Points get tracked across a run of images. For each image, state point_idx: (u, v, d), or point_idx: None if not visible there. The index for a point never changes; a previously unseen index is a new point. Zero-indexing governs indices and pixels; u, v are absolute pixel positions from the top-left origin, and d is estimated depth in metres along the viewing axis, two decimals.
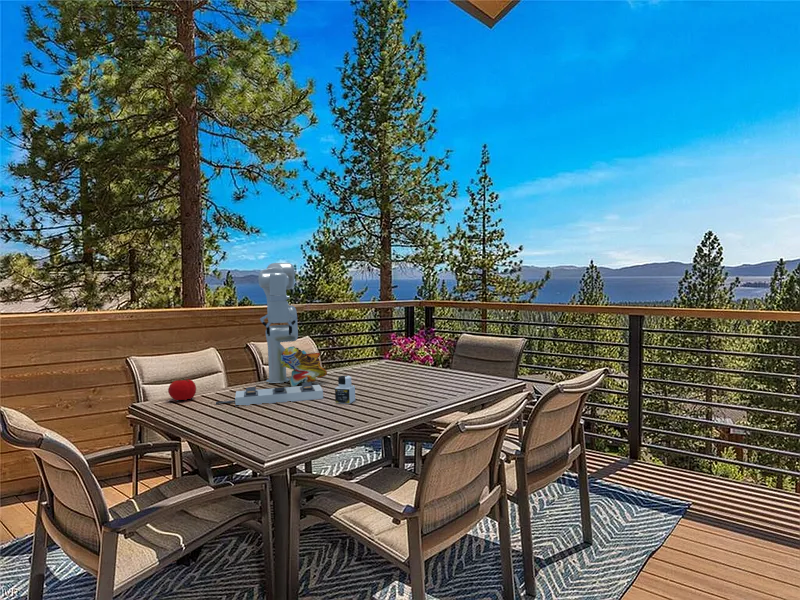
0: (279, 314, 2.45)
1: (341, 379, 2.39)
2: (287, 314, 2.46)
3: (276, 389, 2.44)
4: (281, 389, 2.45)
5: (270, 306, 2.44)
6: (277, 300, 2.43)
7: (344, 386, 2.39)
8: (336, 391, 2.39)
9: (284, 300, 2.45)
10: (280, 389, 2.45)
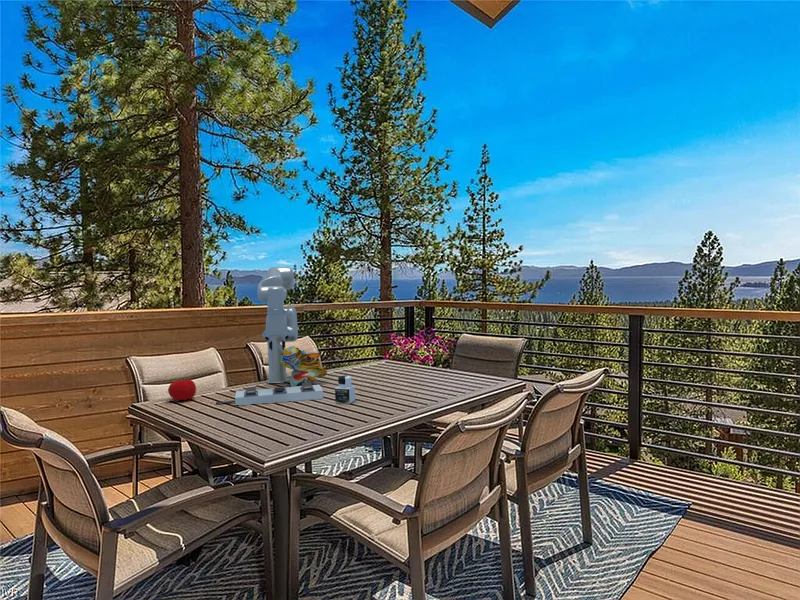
0: (277, 327, 2.51)
1: (341, 379, 2.39)
2: (285, 327, 2.53)
3: (276, 389, 2.44)
4: (281, 389, 2.45)
5: (268, 319, 2.50)
6: (275, 313, 2.50)
7: (344, 386, 2.39)
8: (336, 391, 2.39)
9: (282, 313, 2.52)
10: (280, 389, 2.45)
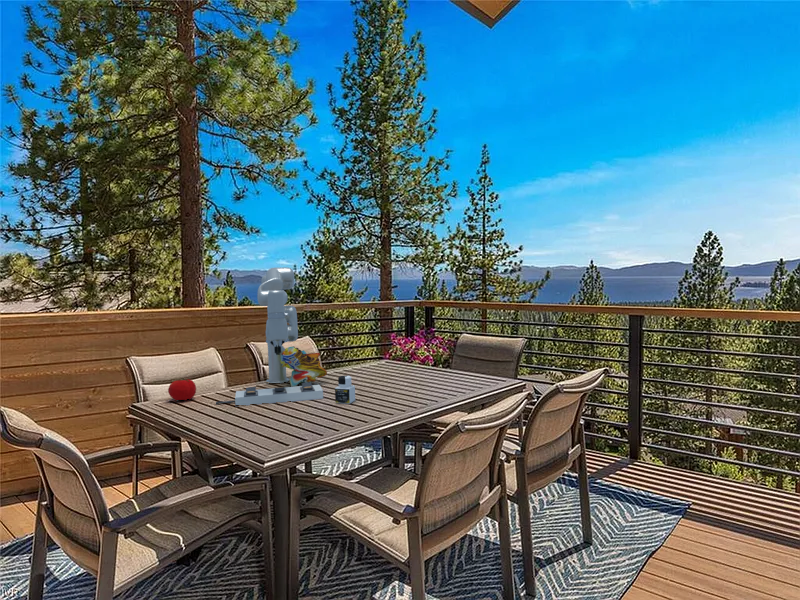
0: (277, 331, 2.47)
1: (341, 379, 2.39)
2: (285, 331, 2.49)
3: (276, 389, 2.44)
4: (281, 389, 2.45)
5: (268, 323, 2.47)
6: (275, 317, 2.46)
7: (344, 386, 2.39)
8: (336, 391, 2.39)
9: (282, 317, 2.48)
10: (280, 389, 2.45)
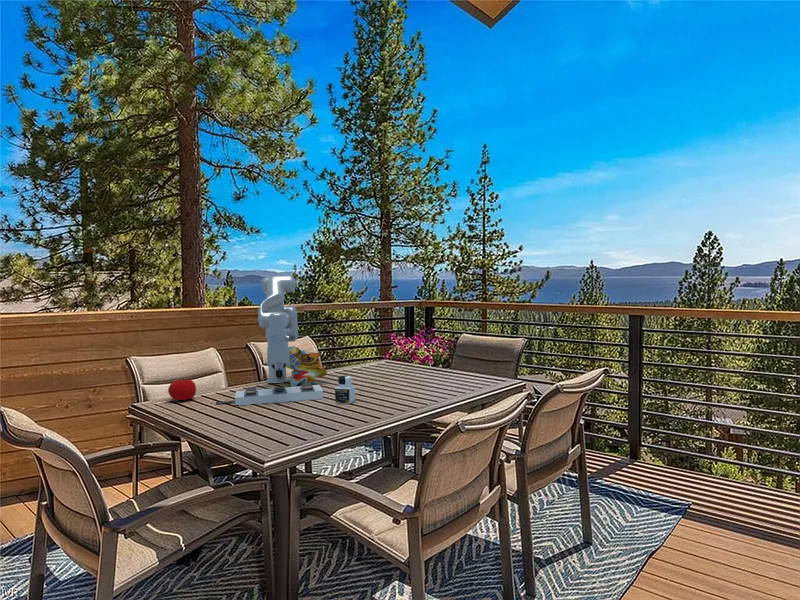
0: (279, 355, 2.43)
1: (341, 379, 2.39)
2: (287, 354, 2.44)
3: (276, 389, 2.44)
4: (281, 389, 2.45)
5: (270, 347, 2.42)
6: (277, 341, 2.41)
7: (344, 386, 2.39)
8: (336, 391, 2.39)
9: (284, 340, 2.43)
10: (280, 389, 2.45)
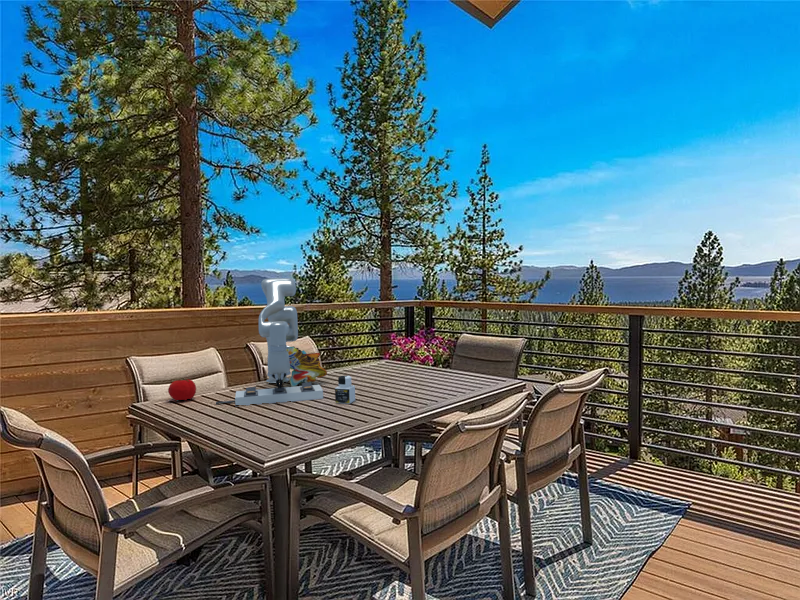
0: (279, 364, 2.43)
1: (341, 379, 2.39)
2: (287, 364, 2.44)
3: (276, 389, 2.44)
4: (281, 389, 2.45)
5: (270, 357, 2.42)
6: (277, 351, 2.41)
7: (344, 386, 2.39)
8: (336, 391, 2.39)
9: (284, 350, 2.43)
10: (280, 389, 2.45)
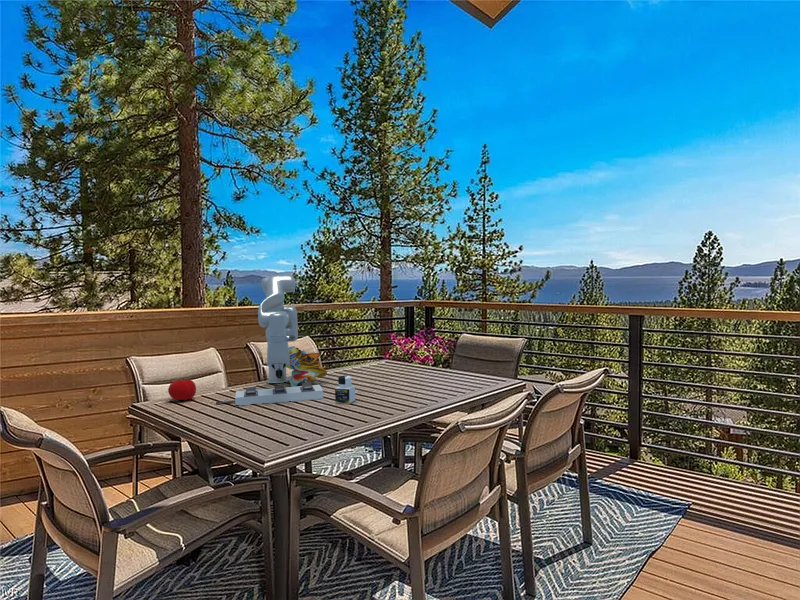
0: (279, 355, 2.43)
1: (341, 379, 2.39)
2: (287, 355, 2.44)
3: (276, 391, 2.44)
4: (281, 391, 2.45)
5: (270, 347, 2.42)
6: (277, 341, 2.41)
7: (344, 386, 2.39)
8: (336, 391, 2.39)
9: (284, 341, 2.43)
10: (280, 391, 2.45)
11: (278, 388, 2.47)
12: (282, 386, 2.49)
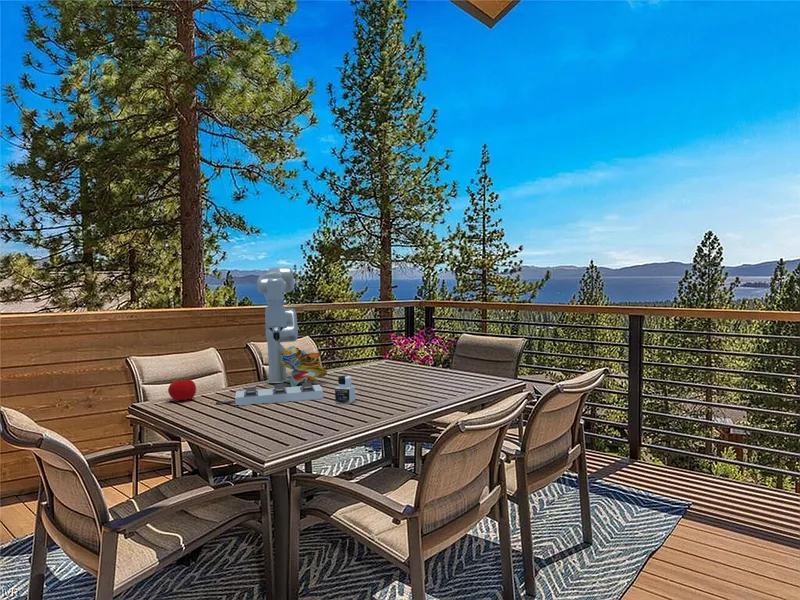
0: (276, 318, 2.57)
1: (341, 379, 2.39)
2: (284, 318, 2.58)
3: (276, 392, 2.44)
4: None
5: (267, 310, 2.56)
6: (274, 305, 2.55)
7: (344, 386, 2.39)
8: (336, 391, 2.39)
9: (281, 304, 2.57)
10: None
11: (278, 388, 2.46)
12: (282, 386, 2.49)
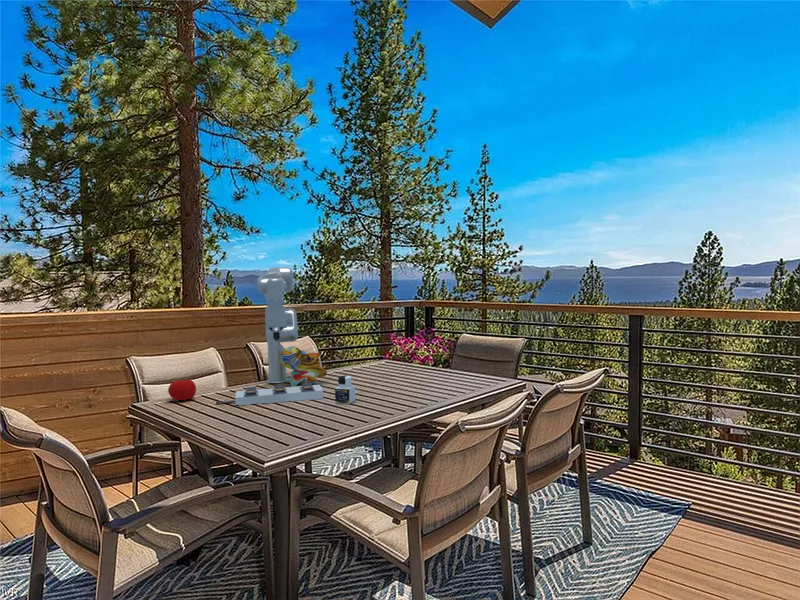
0: (276, 318, 2.57)
1: (341, 379, 2.39)
2: (284, 318, 2.58)
3: (276, 392, 2.44)
4: None
5: (267, 310, 2.56)
6: (274, 304, 2.55)
7: (344, 386, 2.39)
8: (336, 391, 2.39)
9: (281, 304, 2.57)
10: None
11: (278, 388, 2.46)
12: (282, 386, 2.49)
